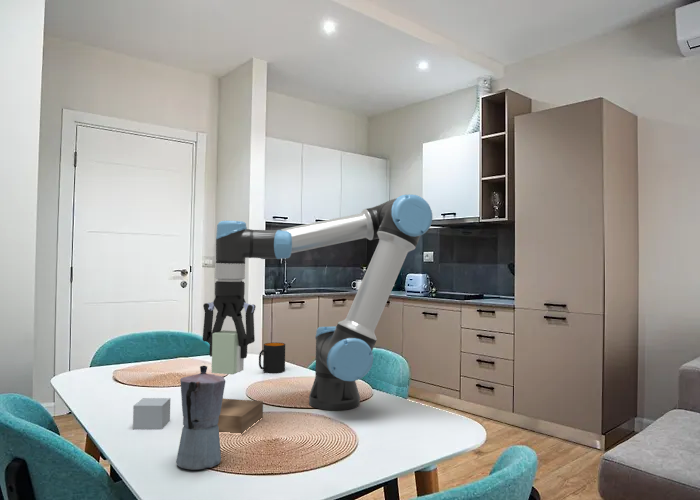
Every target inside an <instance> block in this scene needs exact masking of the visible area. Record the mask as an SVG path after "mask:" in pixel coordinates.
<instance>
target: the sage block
mask: <svg viewBox="0 0 700 500" xmlns="http://www.w3.org/2000/svg"><path fill="white" fill-rule="evenodd" d="M239 345H240V343H239V339H238V334H237V332H236V330H226V329H225V330H221V331H220V332H216V333H213V334H212V357H211V374H219V375H220V374H221V375H222V374H223V375H235V374H237V373H239V372H236V364H237V346H239Z"/></svg>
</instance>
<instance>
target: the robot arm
mask: <svg viewBox="0 0 700 500" xmlns="http://www.w3.org/2000/svg"><path fill="white" fill-rule="evenodd" d="M432 223H433V210H432V209H431V206H430V204H429V203H428V201H426V200H425V198H423V197H421V196H420V195H417V194H410V193H409V194H402V195H400V196H398V197H396V198H392V199H390V200H387V201H386V202H383V203H380V204H378V205H376V206H373V207H368V208H364V209H362V211H361V212H359V213H356V214H350V215H346V216H341V217H335V218H331V219H326V220H325V219H324V220H320V221H316V222H311V223H306V224H305V223H304V224H301V225H296V226H292V227H285V228H280V229H275V230H274V229H249V228H248V227H247V223H246V222H245V221H240V220H221V221H219V222H218V223H217V225H216V235H215V271H214V278H215V280H217V281H215V282H214V299H213V301H212V302H206V303H204V304H203V311H204V319H203V328H202V329H203V330H202V341H203V342H205V343H208V344H209V353H208V355H209V357H211V358H212V334H213V333H216V332H220V331H222V328H223V326H224V322H225V319H226V318H227V317H229V318H231V319H232V321H233V323H234V327H235V331H236V332H237V334H238V339H239V343H240V345H239V346H237V364H236V372H238V373H241V372H242V371H244V363H245V362H244V361H245V360H244V359H246V358H247V356H248V346H249V345H250V344H253V343H255V340H256V339H255V317H254V316H255V315H254V314H255V311H256V305H255V304H251V303H250V304H249V303H247V301H246V300H245V289H246V288H245V287H246V285H245V284H246V283H245V282H244V281H243V280H245V278H246V259H261V260H269V259H270V260H273V259H275V260H276V259H277V260H282V259H289V258H291V256H292V254H294V253H299V252H303V251H309V250H313V249H318V248H323V247H328V246H333V245H337V244H341V243H342V244H343V243H348V242H351V241H357V240H362V239H367V240H369V241H373V240H376V239H379V240H378V243H377V244H376V245H377V246H376V248H375V251H374V252H373V255H372V257H371V260H370V262H369V264H368V266H367V269H366V271H365V274H364V276H363V278H362V280H361V283H360V285H359V287H358V289H357V291H356V294H355V296H354V299H353V301H352V304H351V306H350V308H349V310H348V313H347V315H346V317H345V318H344V319H343V320H340V321H338V323H337V325H336V326H335V325H334V326H319V327H317V329H316V333H315V373H314V374H315V377H314V381H313V383H312V387H311V390H310V392H309V396H308V404H309V406H310V407H312V408H315V409H320V410H325V411H345V410H351V409H355V408H358V407H359V405H360V404H361V396H360V392H359V390H358V389H359V388H358V385H357V383H356V381H358V380H361V379H363V378H364V377H365V376H366V375H367V374H368V373H369V372H370V370H371V369H372V367H373V363H374V354H373V350H374V347H375V346H376V343H377V340H378V339H377V336H376V334H375V333H376V332H375V331H376V328H377V326H378V324H379V322H380V319H381V316H382V314H383V312H384V309H385V307H386V305H387V302H388V300H389V298H390V295H391V293H392V290H393V288H394V286H395V283H396V281H397V279H398V276H399V274H400V271H401V269H402V267H403V265H404V262H405V260H406V257H407V255H408V253H410V252H411V251H414V250H415V249H416V247H417V246H418V243H419V241H420V238H421V236H422V235H425V234H426V233H427V232H428V230H429V229H430V227H431V225H432ZM215 309H216V310H217V313H216V316H215V321H214V310H215ZM243 309H244V312H245V326H244V322H243V315H242V311H243ZM213 322H214V325H213Z"/></svg>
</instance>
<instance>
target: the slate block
mask: <svg viewBox="0 0 700 500" xmlns="http://www.w3.org/2000/svg"><path fill="white" fill-rule="evenodd" d="M132 410H133V411H132V412H133V414H132V430H135V431H136V430H142V431H143V430H147V431H148V430H163V429H164V428H165V427H166V425H168V424H169V422H171V398H170V397H144V398H142V399H140V400H139V401H138V402H136V403H134V405H133V409H132Z"/></svg>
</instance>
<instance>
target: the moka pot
mask: <svg viewBox="0 0 700 500" xmlns="http://www.w3.org/2000/svg"><path fill="white" fill-rule="evenodd" d="M199 370H200V373H197V374H192V375H188V376H184V377H181V378H180V394H181V395H180V396H181V408H182V409H181V410H182V425H183V427H182V429H181V436H180V438H179V439H180V440H179V446H178V450H177V455H176V459H175V463H176V466H178V467H179V468H181V469H186V470H190V471H191V470H192V471H194V470H203V469H204V470H205V469H209V468H213V467H215V466H217V465H219V464H220V463H221V461H222V455H221V454H222V453H221V443H220V442H221V441H220V434H219V427H218V425H217V424H218V421H219V415H220V412H221V406H222V399H223V398H224V392H225V386H226V379H225V378H224V376H222V375H216V374H214V373H207V370H208V366H207V365H201V366H199Z"/></svg>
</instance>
